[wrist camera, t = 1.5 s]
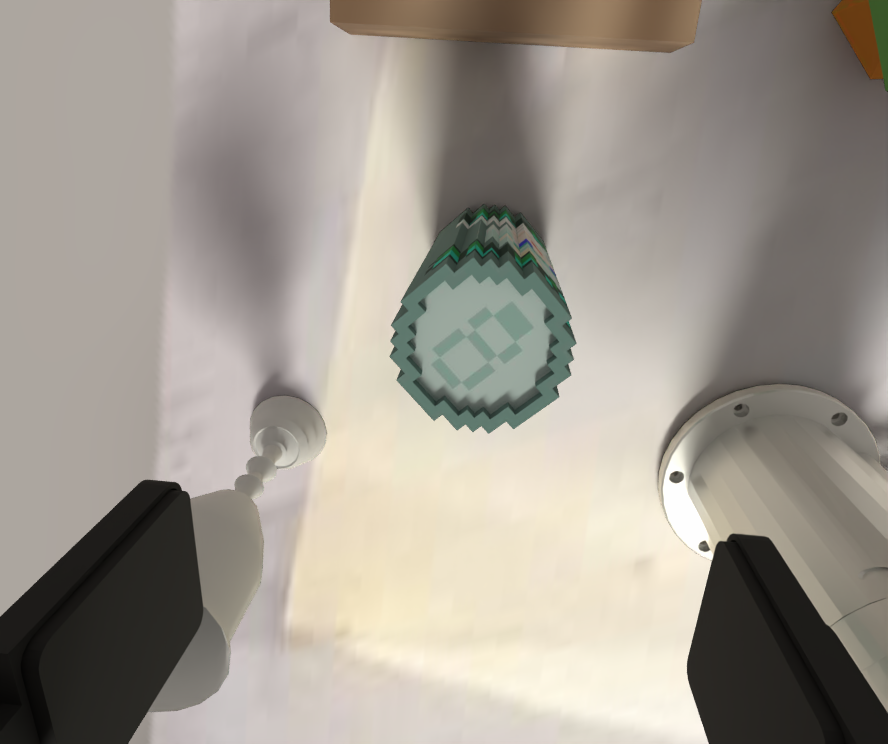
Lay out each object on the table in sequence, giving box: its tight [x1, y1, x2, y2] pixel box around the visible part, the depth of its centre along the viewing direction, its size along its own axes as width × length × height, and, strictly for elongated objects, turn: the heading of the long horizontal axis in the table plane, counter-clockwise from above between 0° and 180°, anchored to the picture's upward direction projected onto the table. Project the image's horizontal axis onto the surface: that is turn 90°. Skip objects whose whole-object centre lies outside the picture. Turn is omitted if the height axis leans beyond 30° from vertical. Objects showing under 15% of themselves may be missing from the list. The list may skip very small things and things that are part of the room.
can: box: [390, 204, 576, 434], centre depth 28 cm, size 6×6×15 cm
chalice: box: [148, 395, 327, 712], centre depth 32 cm, size 7×7×18 cm
